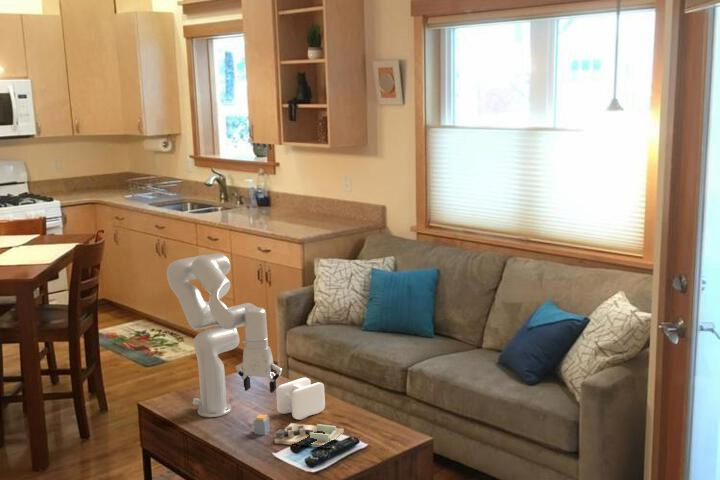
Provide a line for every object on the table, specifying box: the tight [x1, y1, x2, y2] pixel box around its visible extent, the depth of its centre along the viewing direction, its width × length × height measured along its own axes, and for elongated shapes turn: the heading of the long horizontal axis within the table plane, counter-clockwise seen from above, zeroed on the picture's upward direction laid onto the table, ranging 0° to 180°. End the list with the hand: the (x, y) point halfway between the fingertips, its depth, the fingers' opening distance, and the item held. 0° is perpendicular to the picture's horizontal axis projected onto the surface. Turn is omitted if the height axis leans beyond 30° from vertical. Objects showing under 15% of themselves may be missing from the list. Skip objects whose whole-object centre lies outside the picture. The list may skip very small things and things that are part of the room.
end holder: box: [310, 423, 337, 441], centre depth 270 cm, size 7×8×2 cm
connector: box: [253, 413, 271, 436], centre depth 277 cm, size 4×4×6 cm
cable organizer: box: [275, 376, 326, 421], centre depth 292 cm, size 15×11×12 cm
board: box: [274, 422, 344, 446], centre depth 271 cm, size 20×14×4 cm
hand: (260, 390), depth 274 cm, fingers open, 9 cm apart
